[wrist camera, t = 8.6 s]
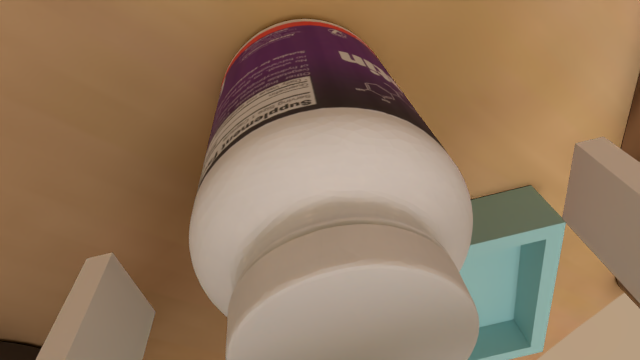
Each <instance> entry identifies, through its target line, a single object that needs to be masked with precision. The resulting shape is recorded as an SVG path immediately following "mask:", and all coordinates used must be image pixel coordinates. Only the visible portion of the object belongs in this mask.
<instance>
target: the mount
mask: <svg viewBox="0 0 640 360" xmlns="http://www.w3.org/2000/svg"><path fill="white" fill-rule="evenodd" d="M621 149H622V150H623V151H624V152H626V153H627V154H629V155H630V156H631V157H633V158H634V159H636V160H637V161H638V162H640V75H639V79H638V83H637V87H636V91H635V95H634V99H633V103H632V107H631V111H630V115H629V119H628V123H627V127H626V131H625V135H624V139H623V143H622V147H621Z"/></svg>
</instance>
